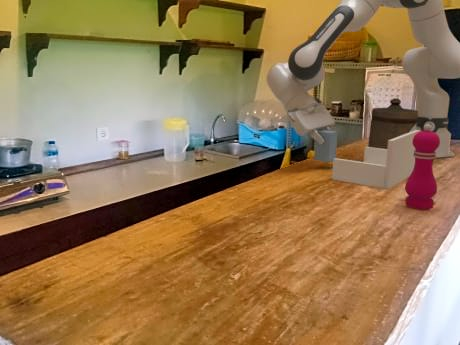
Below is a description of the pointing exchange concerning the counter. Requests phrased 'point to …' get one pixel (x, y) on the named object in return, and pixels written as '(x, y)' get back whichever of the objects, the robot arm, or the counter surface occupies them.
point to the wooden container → (390, 123)
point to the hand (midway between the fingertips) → (327, 141)
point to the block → (326, 146)
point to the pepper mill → (423, 170)
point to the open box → (379, 164)
